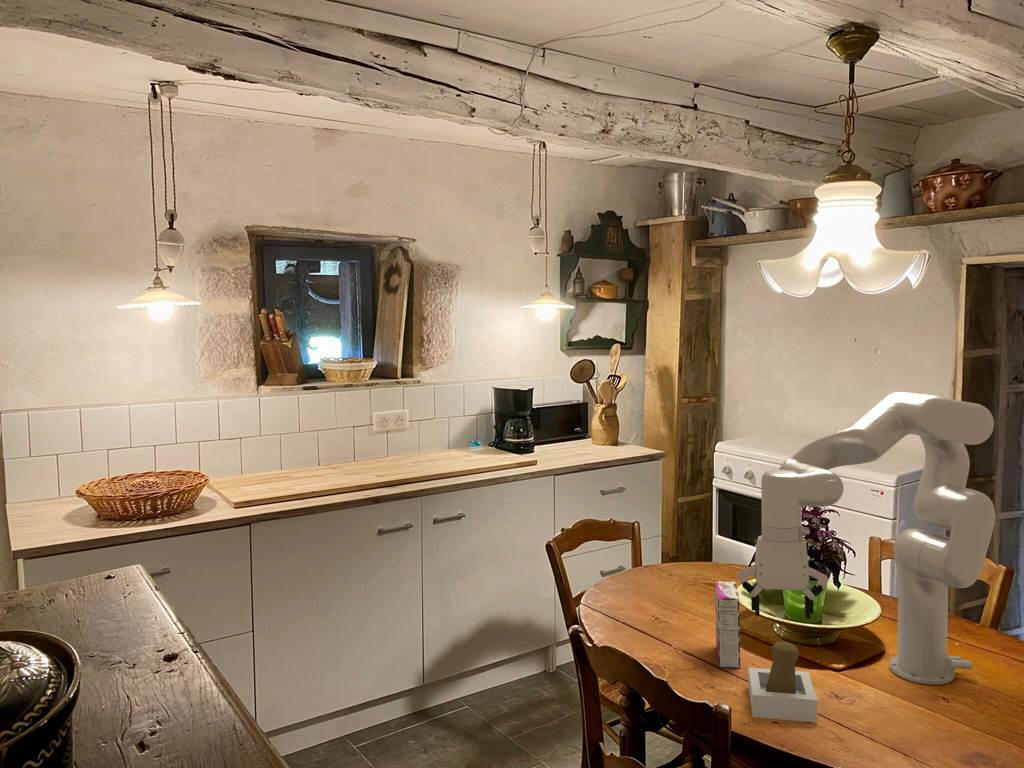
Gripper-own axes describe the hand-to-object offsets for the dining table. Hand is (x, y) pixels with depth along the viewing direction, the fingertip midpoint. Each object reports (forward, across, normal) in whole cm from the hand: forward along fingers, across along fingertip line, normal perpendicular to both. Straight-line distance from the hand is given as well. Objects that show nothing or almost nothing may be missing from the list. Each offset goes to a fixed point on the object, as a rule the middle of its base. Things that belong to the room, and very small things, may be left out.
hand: (782, 615), depth 155 cm
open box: (+19, 0, 0) cm, 19 cm away
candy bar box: (+19, +10, -20) cm, 29 cm away
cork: (+17, 0, 0) cm, 17 cm away
